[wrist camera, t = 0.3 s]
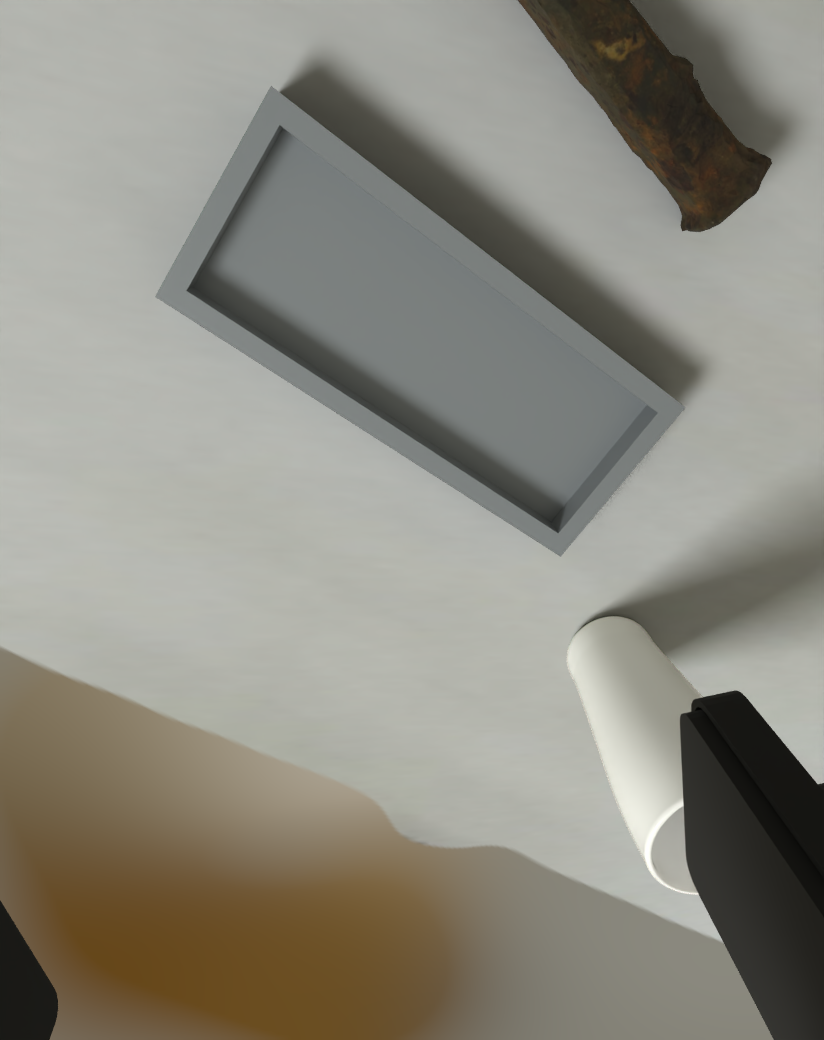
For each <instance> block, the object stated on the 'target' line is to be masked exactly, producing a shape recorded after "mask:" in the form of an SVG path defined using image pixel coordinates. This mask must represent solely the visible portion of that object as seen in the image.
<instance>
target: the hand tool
mask: <svg viewBox="0 0 824 1040" xmlns="http://www.w3.org/2000/svg"><path fill="white" fill-rule="evenodd" d="M518 1H519V2H520V4H521V5H522V6H523V7H524V9H525V10H526V11H527V13H528V14H529V15H530V17H531V18H532V19H533V21H534V22H535V23H536V25H537V26H538V27H539V29H540V30H541V31H542V33H543V34H544V35H545V37H546V38H547V40H548V41H549V42H550V44H551V45H552V46H553V47H554V49H555V50H556V51H557V52H558V54H559V55H560V56H561V57H562V59H563V60H564V61H565V62H566V64H567V65H568V67H569V69H570V70H571V72H572V73H573V75H574V76H575V77H576V79H577V80H578V81H579V82H580V83H581V84H582V85H583V87H584V88H585V89H586V90H587V91H588V92H589V93H590V94H591V95H592V96H593V97H594V99H595V100H596V101H597V103H598V104H599V105H600V107H601V108H602V109H603V110H604V111H605V113H606V114H607V115H608V117H609V119H610V120H611V122H612V124H613V125H614V126H615V127H616V128H617V130H618V131H619V133H620V134H621V136H622V137H623V138H624V140H625V141H626V143H627V144H628V146H629V147H630V148H631V150H632V151H633V152H634V153H635V154H636V155H637V156H639V157H640V158H641V159H642V161H643V162H644V163H645V165H646V166H647V167H648V168H649V169H650V170H652V171H653V173H654V174H655V175H656V176H657V178H658V179H659V180H660V182H661V183H662V184H663V185H664V186H665V187H666V188H667V190H668V191H669V193H670V194H671V196H672V197H673V198H674V200H675V201H676V202H677V204H678V205H679V208H680V210H681V213H682V221H681V229H682V231H685V230H688V231H693V232H701V231H705V230H708V229H710V228H712V227H714V226H716V225H719V224H720V223H721V222H723V221H724V220H725V219H726V218H727V217H728V216H730V215H731V214H732V213H733V212H734V211H735V210H736V209H738V208H739V207H740V206H741V205H742V204H743V203H744V202H745V201H747V200H748V199H749V198H751V197H752V196H754V195H755V194H756V193H757V191H758V190H759V187H760V184H761V181H762V179H763V178H764V176H765V174H766V172H767V170H768V169H769V167H770V166H771V164H772V162H771V159H770V158H768V157H767V156H765V155H762V154H760V153H758V152H756V151H755V150H754V149H751V148H746V147H745V146H744V145H743V144H742V143H741V142H739V141H738V140H737V139H736V138H735V136H734V135H733V134H732V132H731V131H730V130H729V128H728V127H727V126H726V125H725V123H724V122H723V120H722V118H721V117H720V116H719V115H717V113H716V112H715V111H714V109H713V108H712V107H711V106H710V104H709V103H708V102H707V100H706V99H705V97H704V94H703V92H702V91H701V89H700V86H699V83H698V80H696V79H694V77H693V65H692V64H691V63H690V62H689V61H688V60H687V59H686V58H682V57H679V56H674V55H672V54H671V53H670V52H669V51H668V49H667V48H666V47H665V46H664V44H663V43H662V42H661V41H660V39H659V38H658V37H657V36H656V34H655V33H654V32H653V31H652V29H651V28H650V26H649V25H648V24H647V22H646V21H645V20H644V18H643V17H642V16H641V14H640V13H639V12H638V11H637V9H636V8H635V7H634V6H633V5H632V4H631V2H630V1H629V0H518Z"/></svg>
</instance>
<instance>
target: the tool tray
mask: <svg viewBox="0 0 824 1040" xmlns="http://www.w3.org/2000/svg"><path fill="white" fill-rule="evenodd" d="M155 297H156V298H158V299H160V300H161V301H163V302H164V303H166V304H167V305H169V306H170V307H172V308H174V309H175V310H177V311H178V312H180V313H181V314H183V315H185V316H186V317H188V318H189V319H191V320H192V321H194V322H195V323H197V324H199V325H200V326H202V327H203V328H205V329H206V330H208V331H209V332H211V333H213V334H214V335H216V336H217V337H219V338H220V339H222V340H224V341H225V342H227V343H228V344H230V345H231V346H233V347H234V348H236V349H238V350H239V351H241V352H242V353H244V354H245V355H247V356H248V357H250V358H252V359H253V360H255V361H256V362H258V363H259V364H261V365H263V366H264V367H266V368H267V369H269V370H270V371H272V372H273V373H275V374H277V375H278V376H280V377H281V378H283V379H284V380H286V381H287V382H289V383H291V384H292V385H294V386H295V387H297V388H298V389H300V390H302V391H303V392H305V393H306V394H308V395H309V396H311V397H312V398H314V399H316V400H317V401H319V402H320V403H322V404H323V405H325V406H326V407H328V408H330V409H331V410H333V411H334V412H336V413H337V414H339V415H341V416H342V417H344V418H345V419H347V420H348V421H350V422H351V423H353V424H355V425H356V426H358V427H359V428H361V429H362V430H364V431H365V432H367V433H369V434H370V435H372V436H373V437H375V438H376V439H378V440H380V441H381V442H383V443H384V444H386V445H387V446H389V447H390V448H392V449H394V450H395V451H397V452H398V453H400V454H401V455H403V456H404V457H406V458H408V459H409V460H411V461H412V462H414V463H415V464H417V465H419V466H420V467H422V468H423V469H425V470H426V471H428V472H429V473H431V474H433V475H434V476H436V477H437V478H439V479H440V480H442V481H443V482H445V483H447V484H448V485H450V486H451V487H453V488H454V489H456V490H458V491H459V492H461V493H462V494H464V495H465V496H467V497H468V498H470V499H472V500H473V501H475V502H476V503H478V504H479V505H481V506H482V507H484V508H486V509H487V510H489V511H490V512H492V513H493V514H495V515H497V516H498V517H500V518H501V519H503V520H504V521H506V522H507V523H509V524H511V525H512V526H514V527H515V528H517V529H518V530H520V531H521V532H523V533H525V534H526V535H528V536H529V537H531V538H532V539H534V540H536V541H537V542H539V543H540V544H542V545H543V546H545V547H546V548H548V549H550V550H551V551H553V552H554V553H556V554H557V555H559V556H560V557H561V556H562V554H563V553H564V552H565V551H566V550H567V548H568V547H569V546H570V545H571V544H572V542H573V541H574V540H575V539H576V538H577V536H578V535H579V534H580V533H581V532H582V530H583V529H584V528H585V527H586V526H587V524H588V523H589V522H590V521H591V520H592V518H593V517H594V516H595V515H596V514H597V512H598V511H599V510H600V509H601V508H602V507H603V505H604V504H605V503H606V502H607V501H608V499H609V498H610V497H611V496H612V495H613V493H614V492H615V491H616V490H617V489H618V487H619V486H620V485H621V484H622V483H623V481H624V480H625V479H626V478H627V477H628V475H629V474H630V473H631V472H632V471H633V469H634V468H635V467H636V466H637V465H638V464H639V462H640V461H641V460H642V459H643V458H644V456H645V455H646V454H647V453H648V452H649V450H650V449H651V448H652V447H653V446H654V444H655V443H656V442H657V441H658V440H659V438H660V437H661V436H662V435H663V434H664V432H665V431H666V430H667V429H668V428H669V426H670V425H671V424H672V423H673V422H674V420H675V419H676V418H677V417H678V416H679V415H680V413H681V412H682V411H683V410H684V409H685V407H684V406H683V405H682V404H681V403H679V402H678V401H677V400H675V399H674V398H673V397H672V396H670V395H669V394H668V393H666V392H665V391H664V390H662V389H661V388H660V387H659V386H657V385H656V384H655V383H653V382H652V381H651V380H650V379H648V378H647V377H646V376H644V375H643V374H642V373H641V372H639V371H638V370H637V369H635V368H634V367H633V366H632V365H630V364H629V363H628V362H626V361H625V360H624V359H623V358H621V357H620V356H619V355H617V354H616V353H615V352H613V351H612V350H611V349H610V348H608V347H607V346H606V345H604V344H603V343H602V342H601V341H599V340H598V339H597V338H595V337H594V336H593V335H592V334H590V333H589V332H588V331H586V330H585V329H584V328H583V327H581V326H580V325H579V324H577V323H576V322H575V321H574V320H572V319H571V318H570V317H568V316H567V315H566V314H565V313H563V312H562V311H561V310H559V309H558V308H557V307H555V306H554V305H553V304H552V303H550V302H549V301H548V300H546V299H545V298H544V297H543V296H541V295H540V294H539V293H537V292H536V291H535V290H534V289H532V288H531V287H530V286H528V285H527V284H526V283H525V282H523V281H522V280H521V279H519V278H518V277H517V276H516V275H514V274H513V273H512V272H510V271H509V270H508V269H506V268H505V267H504V266H503V265H501V264H500V263H499V262H497V261H496V260H495V259H494V258H492V257H491V256H490V255H488V254H487V253H486V252H485V251H483V250H482V249H481V248H479V247H478V246H477V245H476V244H474V243H473V242H472V241H470V240H469V239H468V238H467V237H465V236H464V235H463V234H461V233H460V232H459V231H457V230H456V229H455V228H454V227H452V226H451V225H450V224H448V223H447V222H446V221H445V220H443V219H442V218H441V217H439V216H438V215H437V214H436V213H434V212H433V211H432V210H430V209H429V208H428V207H427V206H425V205H424V204H423V203H421V202H420V201H419V200H418V199H416V198H415V197H414V196H412V195H411V194H410V193H408V192H407V191H406V190H405V189H403V188H402V187H401V186H399V185H398V184H397V183H396V182H394V181H393V180H392V179H390V178H389V177H388V176H387V175H385V174H384V173H383V172H381V171H380V170H379V169H378V168H376V167H375V166H374V165H372V164H371V163H370V162H369V161H367V160H366V159H365V158H363V157H362V156H361V155H360V154H358V153H357V152H356V151H354V150H353V149H352V148H350V147H349V146H348V145H347V144H345V143H344V142H343V141H341V140H340V139H339V138H338V137H336V136H335V135H334V134H332V133H331V132H330V131H329V130H327V129H326V128H325V127H323V126H322V125H321V124H320V123H318V122H317V121H316V120H314V119H313V118H312V117H311V116H309V115H308V114H307V113H305V112H304V111H303V110H301V109H300V108H299V107H298V106H296V105H295V104H294V103H292V102H291V101H290V100H289V99H287V98H286V97H285V96H283V95H282V94H281V93H280V92H278V91H277V90H276V89H274V88H273V87H272V86H271V87H270V89H269V91H268V92H267V94H266V96H265V98H264V100H263V101H262V103H261V105H260V107H259V109H258V111H257V112H256V114H255V116H254V118H253V120H252V121H251V123H250V125H249V127H248V129H247V131H246V132H245V134H244V136H243V138H242V140H241V141H240V143H239V145H238V147H237V149H236V151H235V152H234V154H233V156H232V158H231V160H230V162H229V163H228V165H227V167H226V169H225V171H224V172H223V174H222V176H221V178H220V180H219V182H218V183H217V185H216V187H215V189H214V191H213V192H212V194H211V196H210V198H209V200H208V202H207V203H206V205H205V207H204V209H203V211H202V212H201V214H200V216H199V218H198V220H197V222H196V223H195V225H194V227H193V229H192V231H191V232H190V234H189V236H188V238H187V240H186V242H185V243H184V245H183V247H182V249H181V251H180V253H179V254H178V256H177V258H176V260H175V262H174V263H173V265H172V267H171V269H170V271H169V273H168V274H167V276H166V278H165V280H164V282H163V283H162V285H161V287H160V289H159V291H158V293H157V294H156V296H155Z"/></svg>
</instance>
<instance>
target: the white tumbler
mask: <svg viewBox="0 0 824 1040" xmlns="http://www.w3.org/2000/svg"><path fill="white" fill-rule="evenodd" d="M567 666H568V670H569V673H570V675H571V677H572V679H573V681H574V683H575V685H576V688H577V690H578V693H579V696H580V699H581V702H582V704H583V707H584V710H585V713H586V716H587V719H588V722H589V725H590V728H591V731H592V734H593V737H594V740H595V743H596V746H597V749H598V752H599V755H600V758H601V761H602V764H603V767H604V770H605V773H606V776H607V778H608V781H609V784H610V787H611V790H612V793H613V795H614V798H615V801H616V803H617V805H618V808H619V810H620V813H621V815H622V817H623V819H624V822H625V824H626V826H627V828H628V830H629V832H630V834H631V836H632V838H633V840H634V842H635V844H636V846H637V848H638V850H639V852H640V854H641V856H642V858H643V860H644V861H645V863H646V865H647V867H648V869H649V871H650V873H651V874H652V875H653V876H654V878H655V879H656V880H657V881H659V882H660V883H661V884H663V885H664V886H666V887H668V888H669V889H672V890H674V891H677V892H681V893H686V894H693V895H699V894H698V892H697V890H696V888H695V886H694V884H693V881H692V878H691V876H690V873H689V869H688V866H687V861H686V850H685V827H684V805H683V783H682V761H681V739H680V716H681V714H683V713H687V712H691V704H692V701H693V700H694V699H697V698H702V697H703V696H702V695H701V694H700V693H699V692H698V691H697V690H696V689H695V688H694V686H693V685H692V684H691V683H690V682H689V681H688V680H687V679H686V678H685V677H684V675H683V674H682V673H681V672H680V671H679V670H678V669H677V668H676V667H675V666H674V664H673V663H672V662H671V661H670V660H669V659H668V658H667V657H666V655H665V654H664V653H663V652H662V651H661V650H660V649H659V648H658V646H657V645H656V644H655V643H654V641H653V640H652V638H651V637H650V636H649V634H648V633H647V632H646V630H645V629H644V628H643V627H642V626H641V625H639V624H638V623H637V622H635V621H633V620H631V619H628V618H625V617H619V616H609V617H603V618H599V619H596V620H594V621H592V622H590V623H588V624H587V625H585V626H584V627H582V628H581V629H580V630H579V631H578V632H577V633H576V634H575V636H574V637H573V639H572V640H571V642H570V644H569V647H568V651H567Z"/></svg>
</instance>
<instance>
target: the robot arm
mask: <svg viewBox="0 0 824 1040" xmlns="http://www.w3.org/2000/svg"><path fill="white" fill-rule="evenodd" d="M680 739H681V761H682V783H683V805H684V827H685V850H686V861H687V866H688V869H689V873H690V876H691V878H692V881H693V884H694V886H695V888H696V890H697V892H698V894H699V896H700V898H701V900H702V901H703V903H704V905H705V907H706V909H707V911H708V913H709V915H710V917H711V919H712V921H713V923H714V925H715V927H716V929H717V931H718V932H719V934H720V936H721V938H722V940H723V942H724V944H725V946H726V948H727V950H728V951H729V954H730V956H731V958H732V960H733V961H734V963H735V965H736V967H737V969H738V971H739V973H740V975H741V977H742V979H743V981H744V983H745V985H746V987H747V989H748V990H749V992H750V994H751V996H752V998H753V1000H754V1002H755V1004H756V1006H757V1008H758V1010H759V1012H760V1014H761V1016H762V1018H763V1019H764V1021H765V1023H766V1025H767V1027H768V1029H769V1031H770V1033H771V1035H772V1037H773V1039H774V1040H824V783H822V784H817V783H816V782H815V781H814V779H813V778H812V777H811V776H810V775H809V773H808V772H807V771H806V770H805V768H804V767H803V766H802V765H801V764H800V762H799V761H798V760H797V759H796V758H795V756H794V755H793V754H792V753H791V751H790V750H789V749H788V748H787V747H786V745H785V744H784V743H783V742H782V741H781V739H780V738H779V737H778V736H777V734H776V733H775V732H774V731H773V730H772V728H771V727H770V726H769V725H768V724H767V722H766V721H765V720H764V719H763V717H762V716H761V715H760V714H759V713H758V711H757V710H756V709H755V708H754V707H753V705H752V704H751V703H750V702H749V700H748V699H747V698H746V697H745V696H744V695H743V694H742V693H741V692H739V691H731V692H726V693H721V694H716V695H712V696H707V697H702V698H697V699H694V700H693V701H692V704H691V712H687V713H683V714H681V716H680ZM57 1011H58V999H57V993H56V991H55V989H54V987H53V985H52V984H51V982H50V980H49V979H48V977H47V976H46V974H45V972H44V971H43V969H42V968H41V966H40V964H39V963H38V961H37V959H36V958H35V956H34V955H33V953H32V951H31V950H30V948H29V946H28V945H27V943H26V942H25V940H24V938H23V937H22V935H21V934H20V932H19V930H18V928H17V927H16V925H15V924H14V922H13V921H12V919H11V917H10V916H9V914H8V913H7V911H6V909H5V907H4V906H3V904H2V902H1V901H0V1040H49V1039H50V1036H51V1033H52V1031H53V1027H54V1025H55V1022H56V1018H57Z"/></svg>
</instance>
